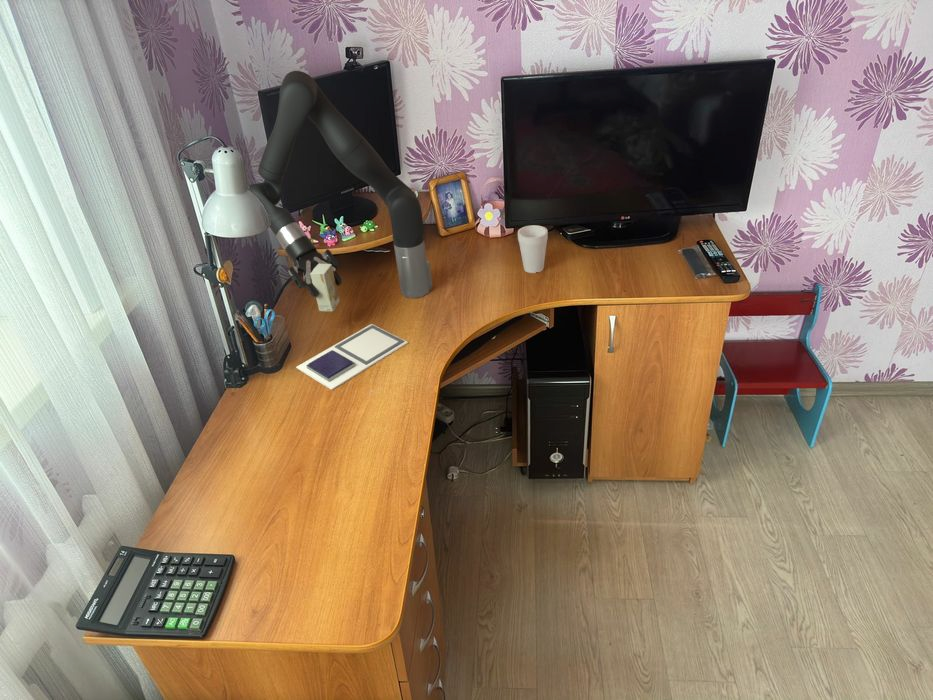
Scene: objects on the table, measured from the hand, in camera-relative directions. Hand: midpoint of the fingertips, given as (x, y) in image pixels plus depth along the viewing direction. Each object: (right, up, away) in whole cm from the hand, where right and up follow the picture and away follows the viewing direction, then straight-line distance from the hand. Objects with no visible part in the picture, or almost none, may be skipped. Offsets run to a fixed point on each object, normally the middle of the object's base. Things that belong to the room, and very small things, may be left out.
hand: (328, 290), depth 197 cm
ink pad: (+2, -22, -7) cm, 23 cm away
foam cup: (+61, +9, +30) cm, 68 cm away
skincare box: (-1, -4, +4) cm, 6 cm away
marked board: (+7, -18, -3) cm, 20 cm away
